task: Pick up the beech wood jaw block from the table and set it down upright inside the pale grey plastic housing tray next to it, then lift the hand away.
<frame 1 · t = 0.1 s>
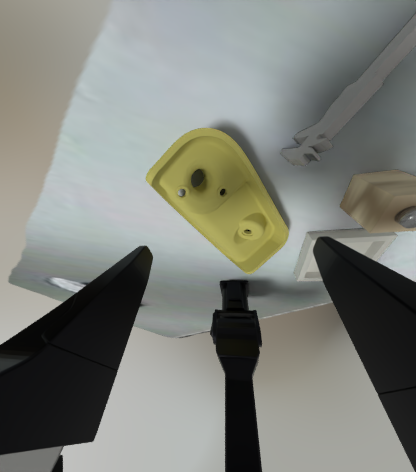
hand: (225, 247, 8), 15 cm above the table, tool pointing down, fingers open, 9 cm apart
housing tray: (332, 253, 27), on the table
plastic component: (226, 202, 23), on the table
caliper: (384, 44, 13), on the table
jaw block: (365, 189, 20), on the table
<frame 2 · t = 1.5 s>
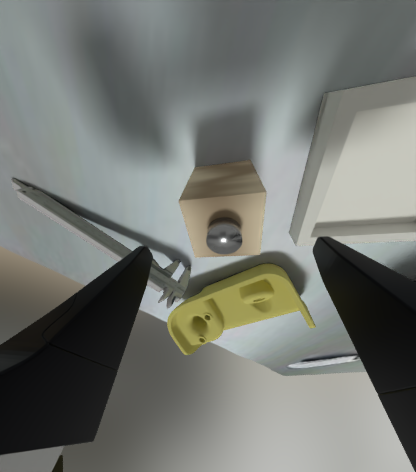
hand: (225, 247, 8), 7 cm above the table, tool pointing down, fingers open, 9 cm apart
housing tray: (378, 174, 12), on the table
plastic component: (230, 290, 25), on the table
caliper: (120, 230, 19), on the table
jaw block: (223, 190, 14), on the table
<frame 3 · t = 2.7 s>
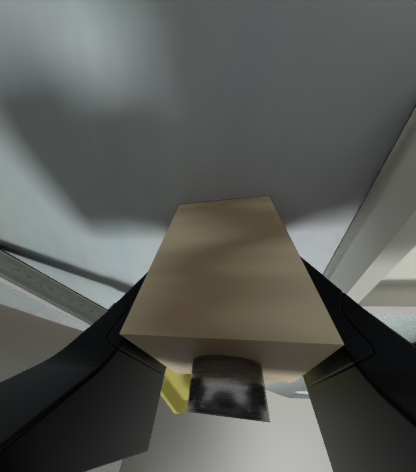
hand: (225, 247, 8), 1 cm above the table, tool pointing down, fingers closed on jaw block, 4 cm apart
plastic component: (231, 333, 21), on the table
caliper: (85, 273, 14), on the table
jaw block: (225, 234, 9), on the table, touching gripper
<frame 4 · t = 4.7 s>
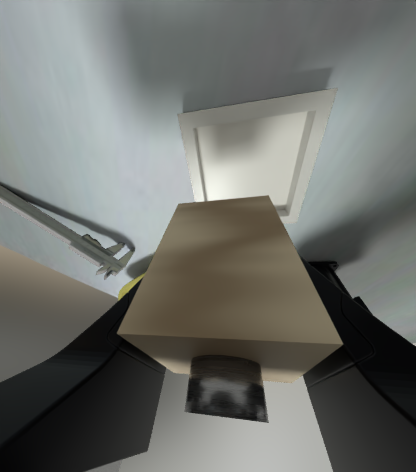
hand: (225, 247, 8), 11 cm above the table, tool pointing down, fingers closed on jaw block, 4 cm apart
housing tray: (246, 172, 16), on the table
caliper: (68, 216, 22), on the table
jaw block: (224, 234, 9), point 10 cm above the table, touching gripper
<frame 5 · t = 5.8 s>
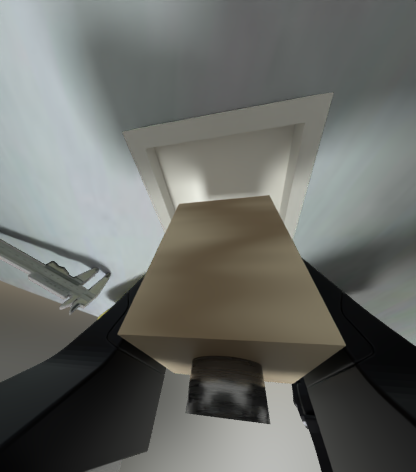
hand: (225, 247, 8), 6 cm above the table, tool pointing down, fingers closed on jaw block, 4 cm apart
housing tray: (224, 195, 13), on the table
caliper: (33, 241, 20), on the table
jaw block: (225, 234, 9), point 5 cm above the table, touching gripper
when the fingers open (3 cm above the table, at t = 6.7 s): jaw block drops 1 cm, resting on housing tray.
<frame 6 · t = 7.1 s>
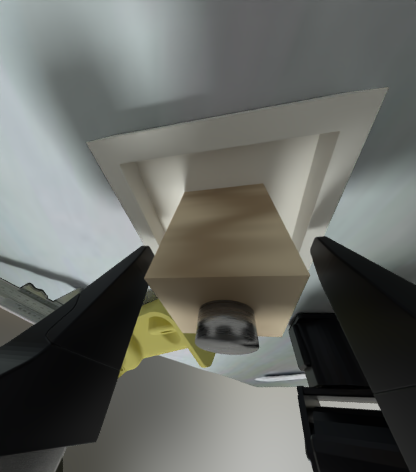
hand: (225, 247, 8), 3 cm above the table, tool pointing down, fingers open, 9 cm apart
housing tray: (225, 215, 11), on the table
plastic component: (154, 316, 24), on the table
caliper: (7, 259, 17), on the table
jaw block: (225, 220, 10), point 1 cm above the table, touching housing tray
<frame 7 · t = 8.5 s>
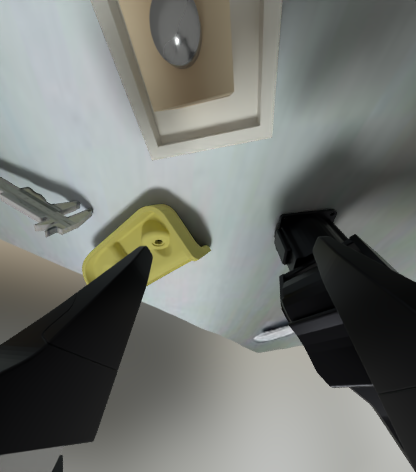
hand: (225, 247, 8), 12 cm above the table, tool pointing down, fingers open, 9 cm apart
housing tray: (197, 65, 12), on the table
plastic component: (148, 244, 26), on the table
caliper: (7, 168, 19), on the table
jaw block: (196, 63, 11), point 1 cm above the table, touching housing tray
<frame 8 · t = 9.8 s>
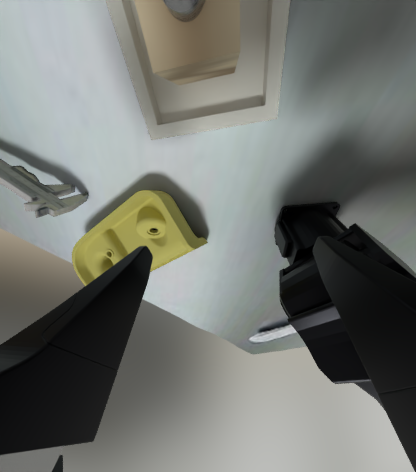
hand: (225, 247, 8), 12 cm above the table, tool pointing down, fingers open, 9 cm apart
housing tray: (201, 38, 11), on the table
plastic component: (143, 234, 25), on the table
caliper: (0, 146, 18), on the table
jaw block: (201, 34, 11), point 1 cm above the table, touching housing tray
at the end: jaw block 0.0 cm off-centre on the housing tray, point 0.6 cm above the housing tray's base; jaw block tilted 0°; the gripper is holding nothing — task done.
